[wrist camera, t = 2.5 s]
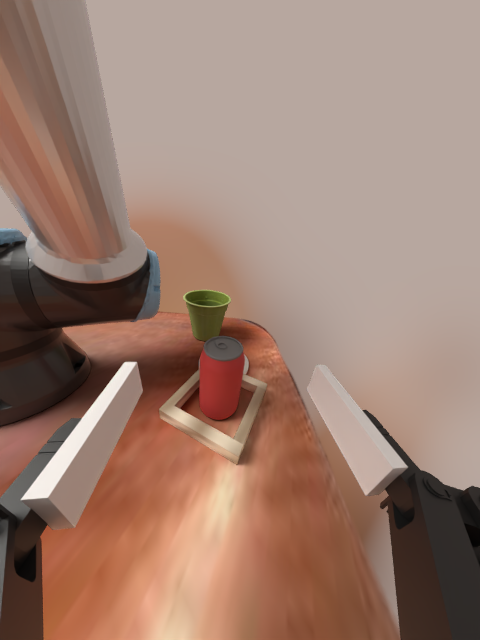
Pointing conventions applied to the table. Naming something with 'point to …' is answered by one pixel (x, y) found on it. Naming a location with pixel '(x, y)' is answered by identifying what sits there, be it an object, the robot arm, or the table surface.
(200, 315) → the plant pot
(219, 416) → the beer can
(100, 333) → the table surface
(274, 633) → the table surface
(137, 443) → the table surface
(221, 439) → the frame
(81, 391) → the table surface
